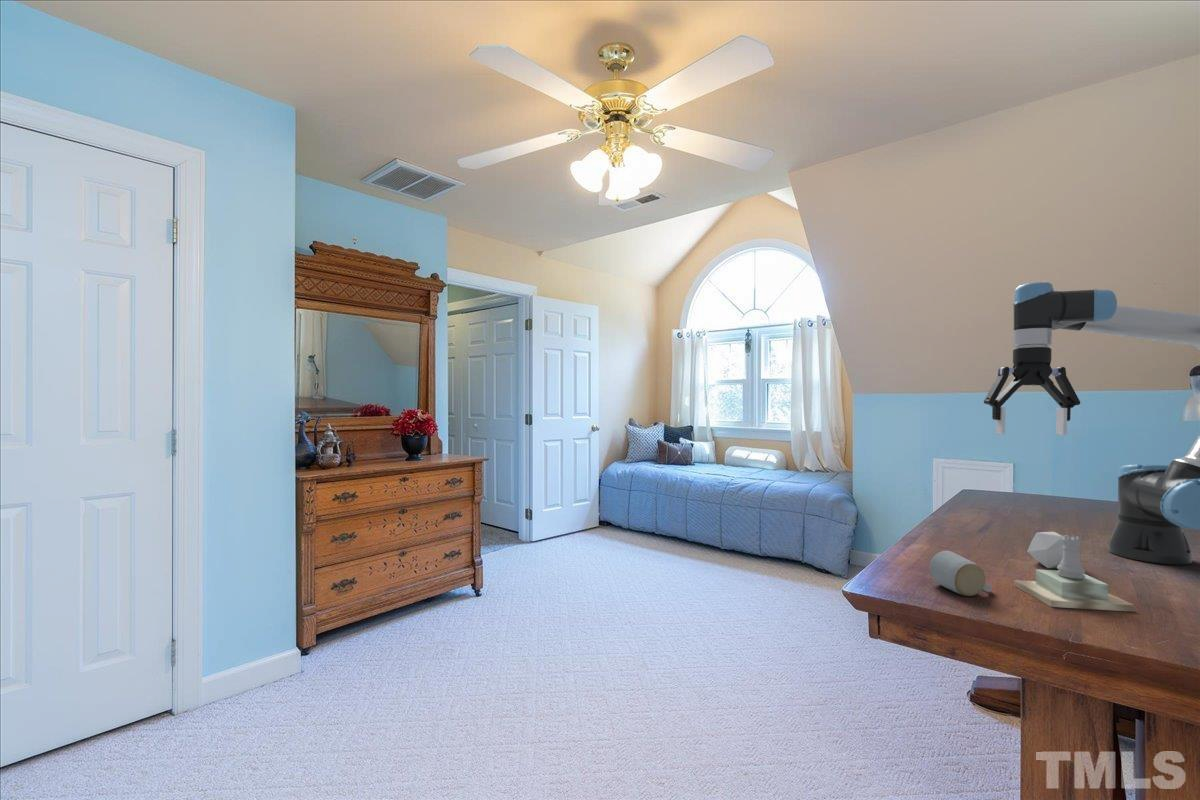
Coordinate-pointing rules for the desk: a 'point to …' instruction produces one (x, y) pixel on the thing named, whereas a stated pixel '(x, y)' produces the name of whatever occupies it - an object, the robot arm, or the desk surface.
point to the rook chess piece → (1071, 559)
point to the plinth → (1070, 601)
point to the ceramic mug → (958, 574)
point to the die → (1047, 548)
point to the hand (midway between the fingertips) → (1030, 434)
